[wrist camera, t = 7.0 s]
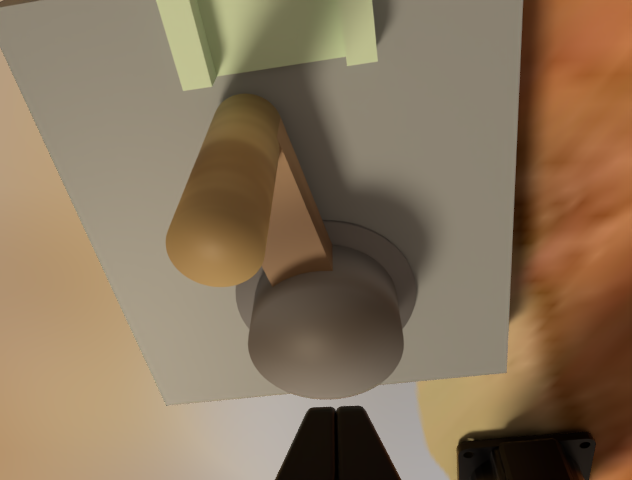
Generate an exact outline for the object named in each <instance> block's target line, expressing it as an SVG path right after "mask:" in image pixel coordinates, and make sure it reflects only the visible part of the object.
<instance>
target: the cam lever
mask: <svg viewBox="0 0 632 480" xmlns="http://www.w3.org/2000/svg"><path fill="white" fill-rule="evenodd" d="M166 250H167V254H168V256H169V258H170V260H171V262H172V263H173V265H174V266H175V267H176V268H177V270H178V271H180V272H181V273H182V274H183V275H184V276H186V277H187V278H189V279H191V280H193V281H195V282H197V283H200V284H203V285H207V286H212V287H230V286H234V285H238V284H241V283H243V282H245V281H247V280H249V279H250V278H251V277H253V276H254V275H255V274H256V273H257V272H258V271H259V269H260V267H261V266H262V268H263V270H264V273H263V274H262V276H261V277H260V279H259V282H258V284H257V287H256V291H255V297H254V303H253V310H252V316H251V323H250V329H249V336H248V350H249V354H250V358H251V360H252V362H253V364H254V366H255V367H256V369H257V370H258V372H259V373H260V374H261V375H262V376H263V377H264V378H265V379H266V380H268V381H269V382H270V383H272V384H273V385H275V386H276V387H278V388H280V389H282V390H284V391H286V392H289V393H291V394H294V395H298V396H301V397H306V398H312V399H341V398H346V397H351V396H354V395H358V394H361V393H364V392H366V391H368V390H370V389H372V388H374V387H376V386H378V385H379V384H381V383H382V382H383V381H385V380H386V379H387V378H388V377H389V376H390V375H391V374H392V373H393V372H394V370H395V369H396V367H397V366H398V364H399V362H400V360H401V358H402V354H403V350H404V337H403V330H402V324H401V318H400V312H399V305H398V299H397V293H396V289H395V285H394V283H393V280H392V278H391V277H390V275H389V273H388V272H387V271H386V270H385V268H384V267H383V266H382V265H381V264H380V263H378V262H377V261H376V260H375V259H373V258H372V257H370V256H368V255H367V254H364V253H362V252H360V251H358V250H355V249H352V248H348V247H344V246H338V245H332V243H331V240H330V238H329V236H328V233H327V231H326V228H325V226H324V223H323V221H322V218H321V216H320V213H319V211H318V208H317V206H316V203H315V201H314V198H313V196H312V194H311V191H310V189H309V186H308V184H307V181H306V179H305V176H304V174H303V171H302V169H301V166H300V164H299V161H298V159H297V156H296V154H295V151H294V149H293V147H292V144H291V142H290V139H289V137H288V134H287V132H286V129H285V127H284V124H283V122H282V119H281V117H280V115H279V113H278V111H277V110H276V108H275V107H274V106H273V105H272V104H271V103H270V102H269V101H267V100H266V99H264V98H262V97H260V96H257V95H254V94H237V95H233V96H231V97H229V98H227V99H226V100H224V101H223V102H222V103H221V104H220V105H219V107H218V108H217V110H216V112H215V114H214V117H213V119H212V122H211V124H210V127H209V129H208V132H207V134H206V137H205V139H204V142H203V144H202V147H201V149H200V152H199V154H198V156H197V159H196V161H195V164H194V166H193V169H192V171H191V174H190V176H189V179H188V181H187V184H186V186H185V189H184V191H183V194H182V196H181V199H180V201H179V204H178V206H177V209H176V211H175V214H174V216H173V219H172V221H171V224H170V226H169V229H168V232H167V235H166Z"/></svg>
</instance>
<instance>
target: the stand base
mask: <svg viewBox="0 0 632 480" xmlns="http://www.w3.org/2000/svg"><path fill="white" fill-rule="evenodd" d="M522 15H523V0H3V1H1V2H0V48H1V50H2V52H3V54H4V56H5V59H6V61H7V63H8V65H9V67H10V69H11V71H12V74H13V76H14V78H15V80H16V82H17V84H18V87H19V89H20V91H21V93H22V95H23V98H24V100H25V102H26V104H27V106H28V108H29V110H30V113H31V114H32V117H33V119H34V121H35V123H36V126H37V128H38V130H39V132H40V134H41V136H42V138H43V141H44V143H45V145H46V147H47V149H48V151H49V154H50V156H51V158H52V160H53V162H54V164H55V167H56V169H57V171H58V173H59V175H60V177H61V180H62V182H63V184H64V186H65V188H66V190H67V192H68V195H69V197H70V199H71V201H72V203H73V205H74V208H75V210H76V212H77V214H78V216H79V218H80V221H81V223H82V225H83V227H84V229H85V231H86V234H87V236H88V238H89V240H90V242H91V244H92V247H93V249H94V251H95V253H96V255H97V257H98V259H99V262H100V264H101V266H102V268H103V270H104V272H105V274H106V277H107V279H108V281H109V283H110V285H111V288H112V290H113V292H114V294H115V296H116V298H117V301H118V303H119V305H120V307H121V309H122V311H123V313H124V316H125V318H126V320H127V322H128V324H129V326H130V329H131V331H132V333H133V335H134V337H135V339H136V342H137V344H138V346H139V348H140V350H141V352H142V355H143V357H144V359H145V361H146V363H147V365H148V367H149V370H150V372H151V374H152V376H153V378H154V380H155V383H156V385H157V387H158V389H159V391H160V393H161V395H162V398H163V400H164V402H165V404H166V406H168V405H178V404H189V403H199V402H209V401H219V400H230V399H240V398H251V397H260V396H271V395H282V394H291V393H289V392H286V391H284V390H282V389H280V388H278V387H276V386H275V385H273V384H272V383H270V382H269V381H268V380H266V379H265V378H264V377H263V376H262V375H261V374H260V373H259V372H258V370H257V369H256V367H255V366H254V364H253V362H252V360H251V358H250V354H249V350H248V336H249V329H250V323H251V316H252V310H253V303H254V297H255V291H256V287H257V284H258V282H259V279H260V277H261V276H262V274H263V273H264V270H263V268H262V266H261V267H260V269H259V271H258V272H257V273H256V274H255V275H254V276H253V277H251V278H250V279H249V280H247V281H245V282H243V283H241V284H238V285H234V286H230V287H212V286H207V285H203V284H200V283H197V282H195V281H193V280H191V279H189V278H187V277H186V276H184V275H183V274H182V273H181V272H180V271H178V270H177V268H176V267H175V266H174V265H173V263H172V262H171V260H170V258H169V256H168V254H167V250H166V235H167V232H168V229H169V226H170V224H171V221H172V219H173V216H174V214H175V211H176V209H177V206H178V204H179V201H180V199H181V196H182V194H183V191H184V189H185V186H186V184H187V181H188V179H189V176H190V174H191V171H192V169H193V166H194V164H195V161H196V159H197V156H198V154H199V152H200V149H201V147H202V144H203V142H204V139H205V137H206V134H207V132H208V129H209V127H210V124H211V122H212V119H213V117H214V114H215V112H216V110H217V108H218V107H219V105H220V104H221V103H222V102H223V101H224V100H226V99H227V98H229V97H231V96H233V95H237V94H254V95H257V96H260V97H262V98H264V99H266V100H267V101H269V102H270V103H271V104H272V105H273V106H274V107H275V108H276V110H277V111H278V113H279V115H280V117H281V119H282V122H283V124H284V127H285V129H286V132H287V134H288V137H289V139H290V142H291V144H292V147H293V149H294V151H295V154H296V156H297V159H298V161H299V164H300V166H301V169H302V171H303V174H304V176H305V179H306V181H307V184H308V186H309V189H310V191H311V194H312V196H313V198H314V201H315V203H316V206H317V208H318V211H319V213H320V216H321V218H322V221H323V223H324V226H325V228H326V231H327V233H328V236H329V238H330V240H331V243H332V245H338V246H344V247H348V248H352V249H355V250H358V251H360V252H362V253H364V254H367V255H368V256H370V257H372V258H373V259H375V260H376V261H377V262H378V263H380V264H381V265H382V266H383V267H384V268H385V270H386V271H387V272H388V273H389V275H390V277H391V278H392V280H393V283H394V285H395V289H396V293H397V299H398V305H399V312H400V318H401V324H402V330H403V337H404V350H403V354H402V358H401V360H400V362H399V364H398V366H397V367H396V369H395V370H394V372H393V373H392V374H391V375H390V376H389V377H388V378H387V379H386V380H385V381H383V382H382V383H381V384H379V385H384V384H396V383H406V382H416V381H427V380H437V379H447V378H458V377H468V376H478V375H489V374H499V373H507V353H508V330H509V308H510V285H511V263H512V240H513V218H514V195H515V173H516V150H517V128H518V105H519V83H520V60H521V37H522Z"/></svg>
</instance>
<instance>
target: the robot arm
mask: <svg viewBox="0 0 632 480" xmlns="http://www.w3.org/2000/svg"><path fill="white" fill-rule="evenodd" d="M595 445H596V443H595V440H594V438H593V436H592V434H591V433H589V432H573V433H562V434H550V435H538V436H526V437H515V438H503V439H491V440H480V441H468V442H463V443H461V444H459V445H458V446H457V477H458V480H589V477H590V472H591V466H592V461H593V456H594V451H595ZM275 480H401V478H400V477H399V474H398V472H397V471H396V469H395V467H394V465H393V463H392V461H391V459H390V457H389V455H388V453H387V451H386V449H385V447H384V446H383V443H382V442H381V440H380V438H379V436H378V434H377V432H376V430H375V428H374V426H373V424H372V422H371V420H370V418H369V416H368V414H367V412H366V411H365V409H364V408H363V407H361V406H341V407H339V408H337V410H336V411H335V409H334V408H333V407H314V408H310V409H309V410H308V411H307V413H306V414H305V417H304V419H303V421H302V423H301V425H300V427H299V429H298V432H297V434H296V436H295V438H294V440H293V443H292V444H291V447H290V449H289V451H288V453H287V455H286V457H285V460H284V462H283V464H282V466H281V468H280V470H279V472H278V474H277V477H276V479H275Z"/></svg>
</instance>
